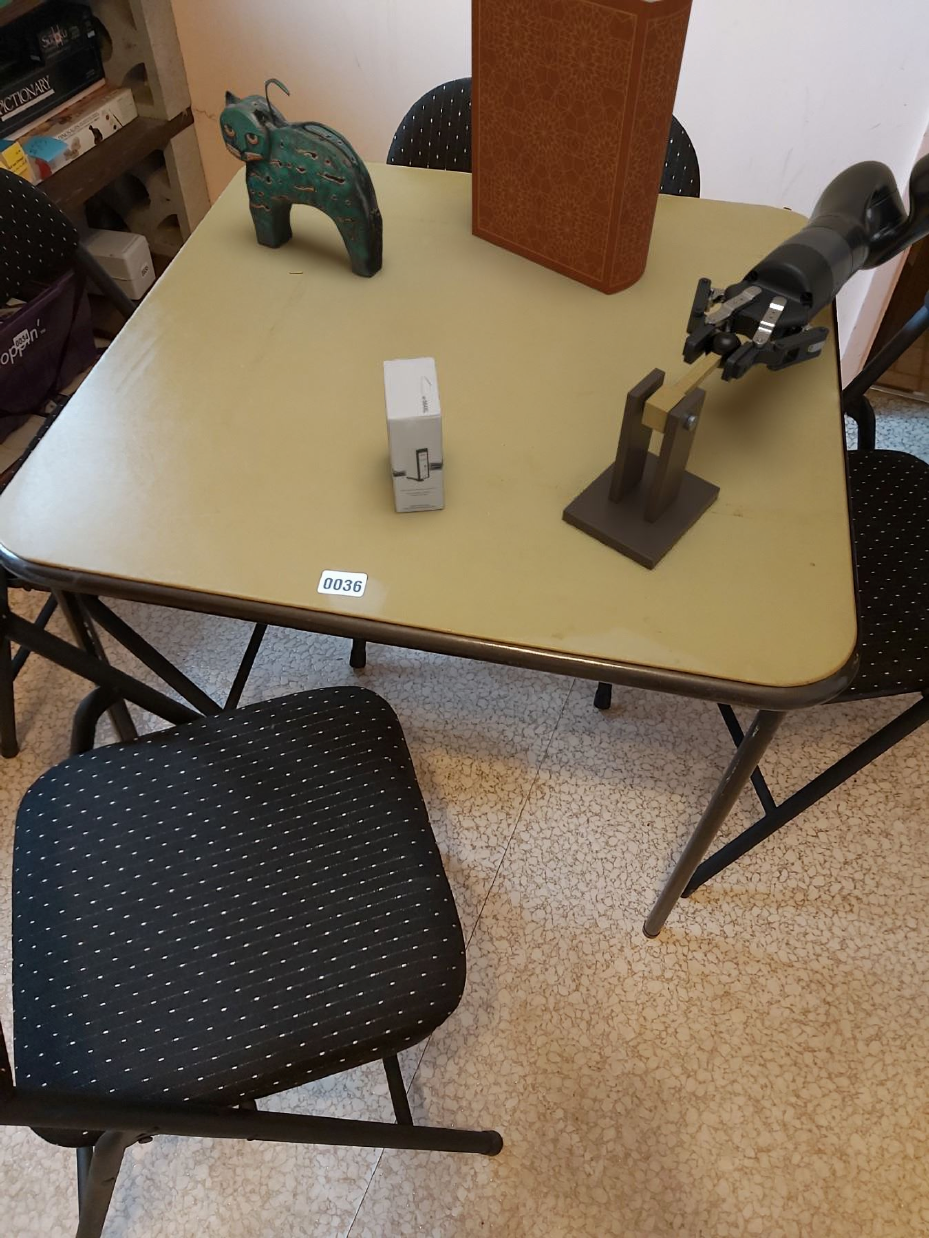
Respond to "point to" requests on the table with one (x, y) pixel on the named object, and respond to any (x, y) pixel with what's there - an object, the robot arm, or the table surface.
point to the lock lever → (689, 380)
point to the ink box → (414, 433)
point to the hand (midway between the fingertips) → (708, 363)
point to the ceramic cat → (302, 177)
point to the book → (573, 129)
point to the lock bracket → (646, 482)
